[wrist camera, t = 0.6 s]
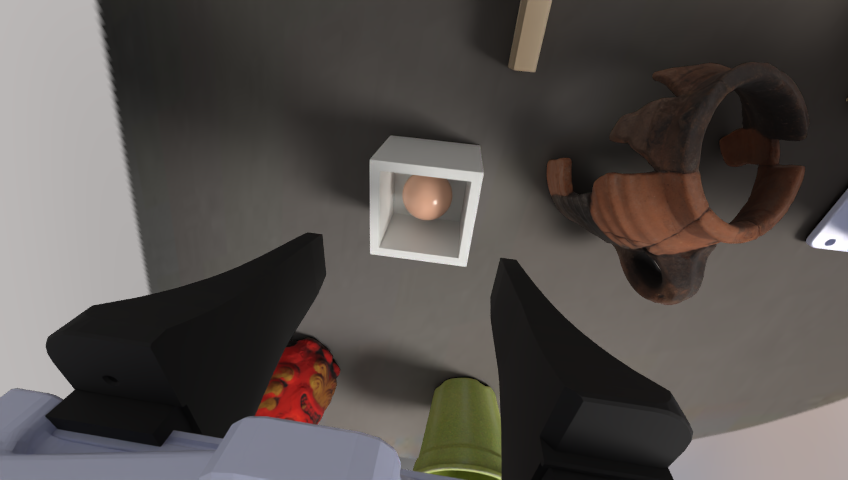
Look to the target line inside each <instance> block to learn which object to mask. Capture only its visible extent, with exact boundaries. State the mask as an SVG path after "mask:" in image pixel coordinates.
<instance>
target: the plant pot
mask: <svg viewBox="0 0 848 480" xmlns="http://www.w3.org/2000/svg"><path fill="white" fill-rule="evenodd" d="M413 471H417V472H423V473H429V474H435V475H441V476H447V477H452V478H458V479H464V480H501V418H500V414H499V409H498V405H497V401H496V396H495V393H494V392H493V390H492V389H491V388H490V387H489V386H488V387H487V386H484V385H482V384H481V383H480V382H478V381H477V380H475V379H471V378H453V379H449V380H446V381H444V382H443V384H442V385H440V386H439V387H438V388H436V389H435V392H434V396H433V400H432V404H431V408H430V413H429V417H428V421H427V425H426V430H425V434H424V438H423V442H422V446H421V450H420V454H419V457H418V459H417V460H416V462H415V465H414V468H413Z"/></svg>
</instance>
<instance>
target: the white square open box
mask: <svg viewBox="0 0 848 480" xmlns="http://www.w3.org/2000/svg"><path fill="white" fill-rule="evenodd" d="M412 175H419V176H427V177H436V178H444V179H447V180H448V181H449V183H450V185H451V188H452V195H453V196H452V202H451V205H450V207H449V209H448V210H447V212H446V213H445V214H443V215H442V216H441V217H439V218H437V219H434V220H421V219H418V218H416V217H414V216H413V215H411V214H410V213H409V212H408V211H407V209H406V207H405V205H404V203H403V198H402V192H403V188H404V185H405V183H406V181H407V180H408V179H409V177H410V176H412ZM483 175H484V171H483V163H482V156H481V149H480V145H473V144H464V143H455V142H446V141H437V140H429V139H420V138H411V137H402V136H393V135H390V136H389V138H388V139H387V140H386V141H385V142H384V143H383V145H382V146H381V147H380V148H379V149H378V150H377V152H376V153H375V154H374V155H373V156H372V157H371V159H370V254H374V255H382V256H389V257H397V258H404V259H412V260H419V261H427V262H434V263H442V264H449V265H457V266H464V267H466V265H467V260H468V255H469V249H470V244H471V239H472V233H473V228H474V223H475V217H476V212H477V207H478V201H479V196H480V191H481V185H482V180H483Z"/></svg>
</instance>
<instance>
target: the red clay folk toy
mask: <svg viewBox="0 0 848 480" xmlns="http://www.w3.org/2000/svg"><path fill="white" fill-rule="evenodd" d="M332 357H333V355H332V354H331V353H330V351H328V349H327V348H325V347H324V346H323V345H322V344H321V343H320V342H318V341H317V340H315V339H313V338H309V337H307V338H305V339H303V340H298V342H297V341H295V340H293V341H289V342H288V344H287V346H286V348H285V350H284V352H283V354H282V356H281V358H280V360H279V362H278V364H277V367H276V369H275V371H274V373H273V375H272V377H271V380H270V382H269V384H268V386H267V389H266V391H265V393H264V395H263V398H262V400H261V403H260V405H259V408H258V410H257V412H256V415H255V416H268V417H274V418H280V419H286V420H292V421H298V422H304V423H310V424H316V425H317V424H318V422H319V421H320V420H321V418H322V416H323V413H324V411H325V409H326V408H327V407H328V405H329V404H330V402H331V399H332V396H333V394H334V392H335V389H336V386H337V382H336V378H337V377H338V375H339V373H340V368H339V367H338V365H337V364H335V363H334V362H332V360H333V359H332Z"/></svg>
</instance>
